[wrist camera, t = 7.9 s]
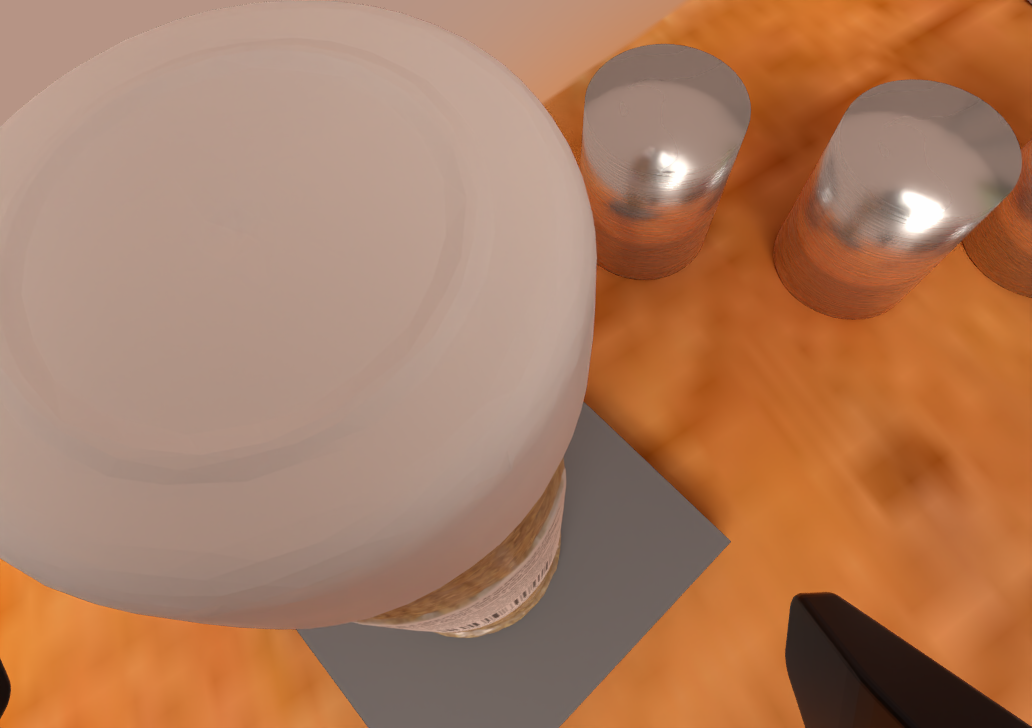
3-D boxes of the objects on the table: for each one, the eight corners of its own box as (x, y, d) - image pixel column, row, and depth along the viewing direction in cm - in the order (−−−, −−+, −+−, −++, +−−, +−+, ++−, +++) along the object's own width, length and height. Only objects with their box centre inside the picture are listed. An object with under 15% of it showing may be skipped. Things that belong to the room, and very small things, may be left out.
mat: (457, 832, 15) (452, 841, 14) (234, 532, 18) (221, 527, 17) (723, 546, 17) (731, 541, 16) (486, 319, 20) (484, 306, 19)
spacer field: (1079, 674, 15) (1304, 686, 11) (549, 223, 21) (550, 104, 16) (1306, 351, 18) (1561, 251, 14) (787, 28, 24) (844, -120, 19)
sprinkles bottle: (535, 434, 17) (510, -83, 5) (582, 615, 16) (718, 492, 3) (363, 476, 17) (-99, 37, 5) (391, 664, 15) (-230, 730, 3)
